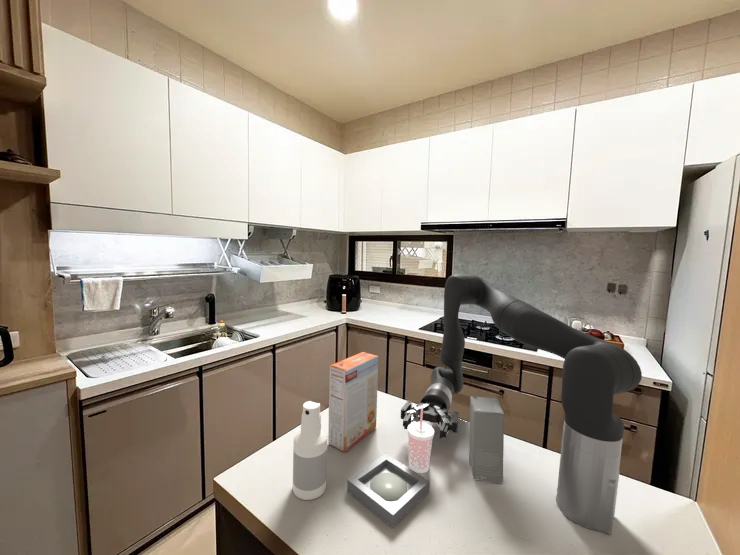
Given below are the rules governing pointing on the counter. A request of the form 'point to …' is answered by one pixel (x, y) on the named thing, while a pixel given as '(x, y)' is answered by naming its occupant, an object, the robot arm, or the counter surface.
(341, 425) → the cracker box
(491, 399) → the skincare box
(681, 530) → the counter surface
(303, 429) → the spray bottle
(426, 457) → the beverage cup
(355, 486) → the coaster tray
